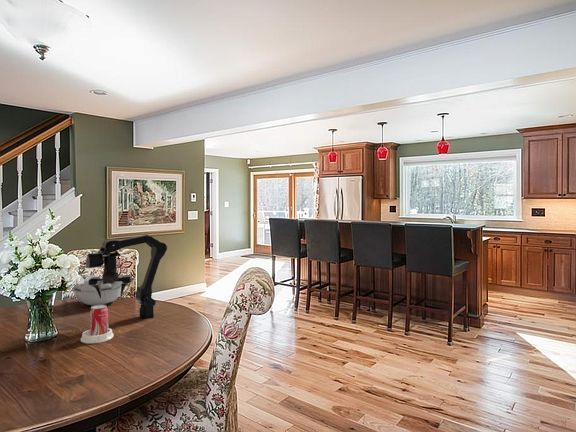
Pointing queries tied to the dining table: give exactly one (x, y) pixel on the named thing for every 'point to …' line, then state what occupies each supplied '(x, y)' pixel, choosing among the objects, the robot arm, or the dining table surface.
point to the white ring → (96, 337)
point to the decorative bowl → (90, 294)
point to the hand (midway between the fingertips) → (111, 297)
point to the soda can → (99, 320)
